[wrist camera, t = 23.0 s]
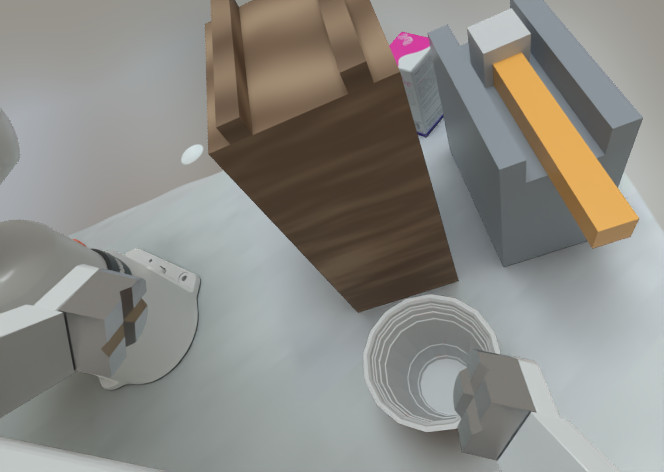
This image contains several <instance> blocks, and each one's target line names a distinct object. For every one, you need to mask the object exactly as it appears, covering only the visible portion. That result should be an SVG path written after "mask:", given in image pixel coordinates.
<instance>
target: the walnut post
mask: <svg viewBox="0 0 664 472" xmlns="http://www.w3.org/2000/svg"><path fill="white" fill-rule="evenodd" d="M205 42H206V80H207V118H208V154H209V155H210V156H211V157H212V158H213V159H214V160H215V161H216V162H217V164H218V165H219V166H220V167H221V168H222V169H223V170H224V171H225V172H226V173H227V174H228V175H229V176H230V177H231V178H232V180H233V181H234V182H235V183H236V184H237V185H238V186H239V187H240V188H241V189H242V190H243V191H244V192H245V193H246V194H247V195H248V197H249V198H250V199H251V200H252V201H253V202H254V203H255V204H256V205H257V206H258V207H259V208H260V209H261V210H262V211H263V212H264V213H265V215H266V216H267V217H268V218H269V219H270V220H271V221H272V222H273V223H274V224H275V225H276V226H277V227H278V228H279V229H280V230H281V232H282V233H283V234H284V235H285V236H286V237H287V238H288V239H289V240H290V241H291V242H292V243H293V244H294V245H295V246H296V247H297V249H298V250H299V251H300V252H301V253H302V254H303V255H304V256H305V257H306V258H307V259H308V260H309V261H310V262H311V263H312V264H313V265H314V267H315V268H316V269H317V270H318V271H319V272H320V273H321V274H322V275H323V276H324V277H325V278H326V279H327V280H328V281H329V282H330V284H331V285H332V286H333V287H334V288H335V289H336V290H337V291H338V292H339V293H340V294H341V295H342V296H343V297H344V298H345V299H346V300H347V302H348V303H349V304H350V305H351V306H352V307H353V308H354V309H355V310H356V311H357V312H361V311H365V310H368V309H371V308H374V307H377V306H380V305H384V304H387V303H390V302H393V301H396V300H399V299H403V298H406V297H409V296H412V295H415V294H418V293H422V292H425V291H428V290H431V289H434V288H437V287H441V286H444V285H447V284H450V283H453V282H456V281H458V277H457V274H456V270H455V267H454V263H453V259H452V256H451V252H450V249H449V245H448V242H447V238H446V234H445V231H444V227H443V224H442V220H441V216H440V213H439V209H438V206H437V202H436V198H435V195H434V191H433V188H432V184H431V181H430V177H429V173H428V170H427V166H426V163H425V159H424V155H423V152H422V148H421V145H420V141H419V138H418V134H417V130H416V127H415V123H414V120H413V116H412V112H411V109H410V105H409V102H408V98H407V94H406V91H405V87H404V84H403V80H402V77H401V73H400V70H399V68H398V65H397V63H396V61H395V58H394V56H393V54H392V51H391V49H390V47H389V44H388V42H387V40H386V37H385V35H384V33H383V31H382V28H381V26H380V23H379V21H378V19H377V16H376V14H375V12H374V9H373V7H372V5H371V2H370V0H252V1H250V2H248V3H246V4H244V5H242V6H240V7H239V6H238V5H237V3H236V1H235V0H211V21H210V22H208V23H206V24H205Z"/></svg>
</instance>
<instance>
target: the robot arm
mask: <svg viewBox="0 0 664 472" xmlns="http://www.w3.org/2000/svg"><path fill="white" fill-rule="evenodd" d="M19 158H20V151H19V143H18V138H17V136H16V133H15V130H14V128H13V126H12V124H11V122H10V120H9V119H8V117H7V116H6V114H5V113H4V112H3V111H2V109H1V108H0V185H1V183H2V182H3V181H4V180H5V178H6V177H7V176H8V174H9V173H10V172H11V170H12V169H13V168H14V166H15V165H16V164H17V162H18V161H19ZM186 278H187V279H186ZM185 279H186V280H185ZM199 286H200V277H199V276H198V275H196V274H194V273H192V272H190V271H187V270H185V269H183V268H181V267H179V266H176V265H174V264H172V263H170V262H168V261H165V260H163V259H161V258H159V257H157V256H154V255H152V254H150V253H148V252H146V251H143V250H141V249H138V248H135V249H133V250H131V251H129V252H128V253H126V254H125V255H122V254H120V253H118V252H117V251H115V250H107V251H100V250H97V249H89V248H88V247H87V246H86V245H84V244H83V243H82V242H80V241H78V240H76V239H71V238H69V237H67V236H65V235H64V234H62V233H60V232H58V231H56V230H54V229H52V228H51V227H49V226H47V225H45V224H42V223H38V222H34V221H29V220H9V221H4V222H0V418H1V417H3V416H5V415H6V414H8V413H10V412H11V411H13V410H15V409H16V408H18V407H19V406H21V405H23V404H24V403H26V402H28V401H29V400H31V399H33V398H34V397H36V396H38V395H39V394H41V393H43V392H44V391H46V390H47V389H49V388H51V387H52V386H54V385H56V384H57V383H59V382H61V381H62V380H64V379H66V378H67V377H69V376H71V375H72V374H74V371H77V372H83V373H88V374H93V375H96V376H98V378H99V381H100V383H101V386H102V387H103V388H105V389H108V390H114V389H117V388H119V387H121V386H123V385H125V384H145V383H149V382H152V381H155V380H157V379H159V378H161V377H162V376H164V375H165V374H167V373H168V372H169V371H170V370H172V369H173V368H174V367H175V366H176V365H177V364H178V362H179V361H180V360H181V359H182V357H183V356H184V355H185V353H186V351H187V350H188V348H189V346H190V344H191V342H192V340H193V337H194V334H195V331H196V326H197V320H198V309H197V294H198V290H199ZM466 363H467V368H465V369H464V370H462V371H460V372H459V374H458V376H457V378H456V380H455V384H454V390H453V403H454V410H455V411H456V412H457V414H458V415H459V416H460V417H461V420H460V422H459V424H458V426H457V427H458V433H459V439H460V444H461V450H462V452H464V453H468V454H472V455H476V456H481V457H485V458H489V459H493V460H497V463H498V465H499V466H500V468H501V469H502V471H503V472H621V471H620V470H619V469H618V468H617V467H616V466H615V465H613V464H612V463H611V462H610V461H609V460H608V459H607V458H606V457H605V456H604V455H603V454H602V453H601V452H600V451H599V450H598V449H597V448H596V447H595V446H594V445H593V444H592V443H591V442H590V441H589V440H588V439H587V438H586V437H585V436H584V435H582V434H581V433H580V432H579V431H578V430H577V429H576V428H575V427H574V426H573V425H572V424H571V423H570V422H569V421H568V420H566V419H562V418H560V415H559V413H558V410H557V408H556V406H555V403H554V401H553V398H552V396H551V394H550V391H549V389H548V386H547V384H546V382H545V379H544V377H543V375H542V372H541V370H540V367H539V365H538V364H537V363H536V362H535V361H534V360H529V359H524V358H518V357H511V356H507V355H502V354H497V353H492V352H488V351H483V350H478V349H472V350H471V351H470V352H469V354H468V356H467V358H466ZM0 472H168V471H163V470H158V469H154V468H149V467H144V466H139V465H135V464H130V463H125V462H120V461H116V460H111V459H106V458H101V457H96V456H92V455H87V454H82V453H77V452H73V451H68V450H63V449H58V448H54V447H49V446H44V445H39V444H35V443H30V442H25V441H20V440H16V439H11V438H6V437H1V436H0Z"/></svg>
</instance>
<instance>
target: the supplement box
mask: <svg viewBox="0 0 664 472" xmlns="http://www.w3.org/2000/svg"><path fill="white" fill-rule="evenodd" d="M389 47H390V49H391V51H392V54H393V56H394V58H395V61H396V63H397V65H398V68H399V70H400V73H401V77H402V80H403V84H404V87H405V91H406V94H407V98H408V102H409V105H410V109H411V112H412V116H413V120H414V123H415V127H416V130H417V134H419V135H422V136H424V137H427V136H428V135H429V133H430V132H431V131H432V130H433V129H434V127H435V126H436V125H437V124H438V122H439V121H440V120H441V119H442V118H443V117H444V116H443V111H442V106H441V101H440V95H439V90H438V85H437V80H436V75H435V70H434V64H433V59H432V54H431V49H430V44H429V38H427V37H423V36H418V35H414V34H409V33H405V32H401V33H400V34H399V35H398V37H396V39H395V40H394V41H393V42H392V43H391V44H390V45H389Z"/></svg>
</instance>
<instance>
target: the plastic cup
mask: <svg viewBox="0 0 664 472" xmlns="http://www.w3.org/2000/svg"><path fill="white" fill-rule="evenodd" d="M472 349H478V350H483V351H488V352H492V353H497V354H501V353H500V350H499V346H498V342H497V339H496V335H495V332H494V331H493V330H492V328H491V327H490V326H489V325H488V323H487V322H486V321H485V319H484V318H483V317H482V316H481V314H480V313H479V312H478V311H477V310H475V309H473V308H472V307H470V306H468V305H466V304H465V303H463V302H461V301H459V300H458V299H456V298H451V297H445V296H439V295H433V294H428V295H423V296H418V297H413V298H408V299H405V300H403V301H402V302H400V303H399V304H397V305H395V306H394V307H392V308H391V309H389V310H387V311H386V312H385V313H384V314H383V315H382V316H381V318H380V319H379V320H378V322H377V323H376V324H375V326H374V327H373V328H372V329H371V331H370V333H369V336H368V340H367V343H366V346H365V350H364V353H363V363H364V375H365V382H366V384H367V386H368V388H369V390H370V392H371V394H372V396H373V398H374V400H375V402H376V404H377V405H378V406H379V407H380V408H381V409H382V410H383V411H385V412H386V413H387V414H388V415H389V416H390V417H392V418H393V419H394V420H395V421H396V422H397V423H399V424H402V425H405V426H408V427H412V428H415V429H418V430H421V431H424V432H432V431H441V430H449V429H456V428H458V427H457V426H458V424H459V422H460V420H461V417H460V416H459V415H458V414H457V412H456V411H455V410H454V403H453V390H454V384H455V380H456V378H457V376H458V374H459V372H460V371H462V370H464V369H465V368H467V363H466V358H467V356H468V354H469V352H470V351H471V350H472Z"/></svg>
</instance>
